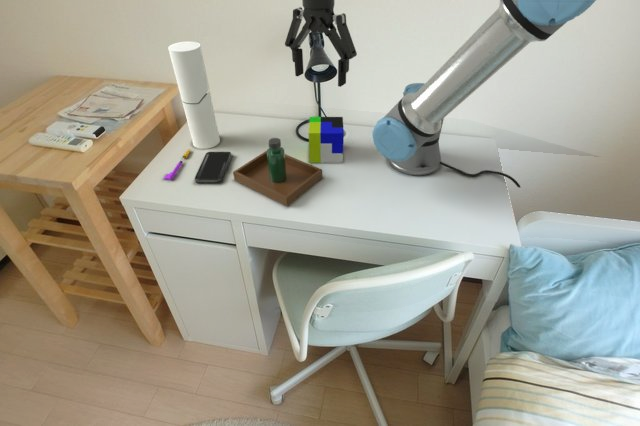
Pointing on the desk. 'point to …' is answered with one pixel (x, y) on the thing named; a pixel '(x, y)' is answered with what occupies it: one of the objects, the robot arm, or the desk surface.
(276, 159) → the spice bottle
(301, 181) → the tray
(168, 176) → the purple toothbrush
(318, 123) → the puzzle toy
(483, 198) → the desk surface
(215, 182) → the phone
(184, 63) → the container
